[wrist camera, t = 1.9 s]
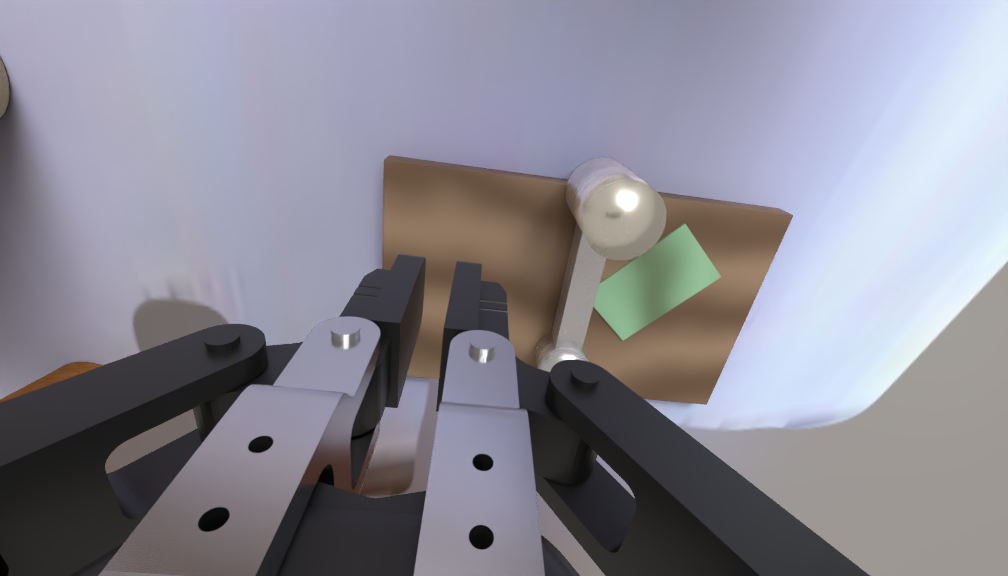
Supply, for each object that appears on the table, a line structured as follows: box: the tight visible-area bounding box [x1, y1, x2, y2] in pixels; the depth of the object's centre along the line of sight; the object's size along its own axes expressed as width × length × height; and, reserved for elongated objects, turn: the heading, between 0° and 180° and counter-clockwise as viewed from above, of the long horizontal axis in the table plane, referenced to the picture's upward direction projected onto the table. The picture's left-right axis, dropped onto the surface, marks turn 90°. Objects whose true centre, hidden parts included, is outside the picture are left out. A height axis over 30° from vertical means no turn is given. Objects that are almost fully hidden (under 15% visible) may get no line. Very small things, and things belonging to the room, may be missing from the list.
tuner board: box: [383, 155, 793, 404], centre depth 31 cm, size 16×26×2 cm, turn 82°
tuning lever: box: [535, 157, 667, 372], centre depth 26 cm, size 16×4×6 cm, turn 172°
